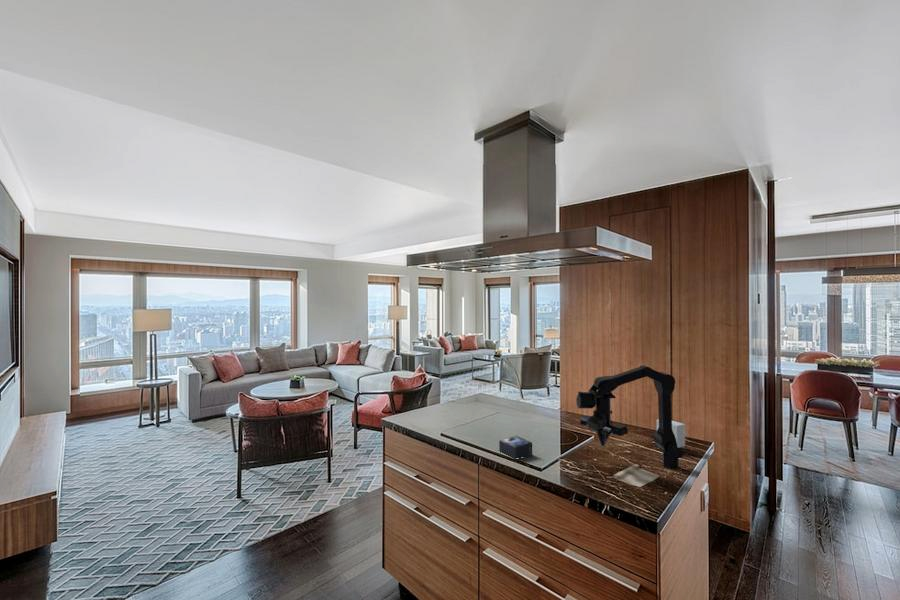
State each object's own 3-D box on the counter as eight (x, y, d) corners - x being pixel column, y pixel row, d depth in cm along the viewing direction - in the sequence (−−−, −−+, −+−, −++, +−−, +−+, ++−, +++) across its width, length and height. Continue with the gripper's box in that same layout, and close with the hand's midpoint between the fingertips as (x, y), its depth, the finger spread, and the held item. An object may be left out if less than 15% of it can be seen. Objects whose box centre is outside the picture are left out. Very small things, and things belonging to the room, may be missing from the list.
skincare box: (685, 446, 176) (685, 423, 176) (677, 448, 173) (677, 425, 173) (664, 438, 186) (664, 417, 186) (655, 441, 183) (655, 419, 183)
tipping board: (635, 467, 154) (635, 464, 154) (659, 476, 146) (659, 472, 146) (613, 478, 145) (613, 474, 145) (638, 489, 137) (638, 484, 137)
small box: (532, 441, 165) (515, 447, 160) (533, 456, 165) (515, 462, 160) (515, 434, 174) (498, 439, 168) (516, 448, 174) (499, 454, 168)
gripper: (572, 406, 160) (572, 443, 160) (613, 417, 145) (613, 458, 145) (587, 402, 166) (587, 437, 166) (628, 412, 151) (628, 451, 151)
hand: (603, 445), depth 157 cm, fingers closed
